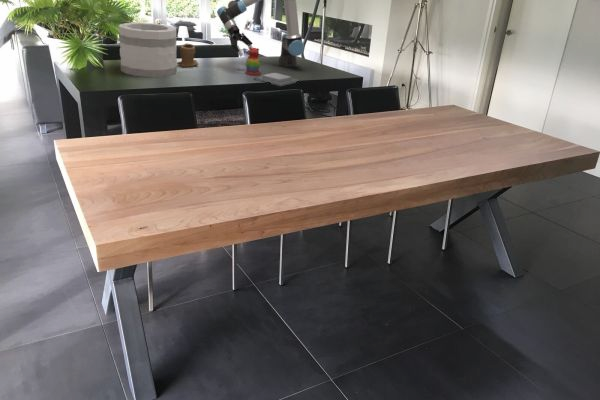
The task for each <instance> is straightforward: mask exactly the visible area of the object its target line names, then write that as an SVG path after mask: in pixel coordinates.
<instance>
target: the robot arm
mask: <svg viewBox="0 0 600 400" xmlns="http://www.w3.org/2000/svg"><path fill="white" fill-rule="evenodd" d="M260 1H261V0H230V1H229V2H228V3H227V7H226V6H220V7H219V8H218V9H217V11H216V13H217V16H218V18H219V20H220V22H222V24H223V26H224V28H225V30H227V33H228V38H229V41H230V44H231V48H232V49H233V50H235V51H236V53H238V55H239V57H240V58H241V57H242V56H243V55H244V53H243V51H242V49H241V48H240V46H238V41H239V42H241V43H243V44H245V45H246V46H247V48H248V49H249V48H250V47H251V48H254V47H253V46H252V45H253V42H252V41H251V39H249V38H248V37H247V35H245V33H244V32H242V33H240V28H239V26H238V25H237V23H236V21H235V20H234V18H236V17H238V16H240V15H241V14H244V13H245V12H246V11H247V8H248V7H250V6H252V5H254V4H256V3H258V2H260ZM283 4H284V5H283V7H284V14H285V23H286V32H287V33H286V34H283V35H282V38H281V50H280V56H279V59H278V60H277V66H279V67H284V68H297V67H298V59H297V57H299V56H301V55H302V54H303V53H304V51H305V44H304V42H303V38H302V37H303V36H302V34H300V29H299V28H300V27H299V17H298V7H297V0H283Z"/></svg>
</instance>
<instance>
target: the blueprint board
mask: <svg viewBox="0 0 600 400" xmlns="http://www.w3.org/2000/svg"><path fill="white" fill-rule="evenodd" d="M254 79H258V80H262V81H267V82H270V83H271V84H270V85H274V86H277V87H283V86H288V85H292V84H296V82H297V81H299V82H300V79H296V78H294V77H293V78H292V76H289V75H286V74H281V73H278V72H271V73H267V74H262V75H259V76H255V77H253V80H254ZM297 83H298V82H297Z"/></svg>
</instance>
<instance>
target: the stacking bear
mask: <svg viewBox="0 0 600 400" xmlns="http://www.w3.org/2000/svg"><path fill="white" fill-rule="evenodd" d="M248 50H249V51H248V53H249V54H248V57H247V59H246V64H245V66H246V70H245V71H244V72H245V74H246V75H248V74H249V75H248V76H261V74H262V72H261V71H260V65H261V63H260V58H259V56H258V55H259V51H260V49H259V47H257V48H256V47H253V48H251V47H250V48H248Z"/></svg>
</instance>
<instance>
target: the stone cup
mask: <svg viewBox="0 0 600 400" xmlns="http://www.w3.org/2000/svg"><path fill="white" fill-rule="evenodd" d="M179 47H180V49H179V53H180V58H181V61H177V65H178V66H180V67H182V68H183V67H187V68H188V67H195V66H199V63H198V61H197V60H196V59H195V54H196V47H195V45H194V44H192V43H184V44H181V45H180V46H179Z"/></svg>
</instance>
